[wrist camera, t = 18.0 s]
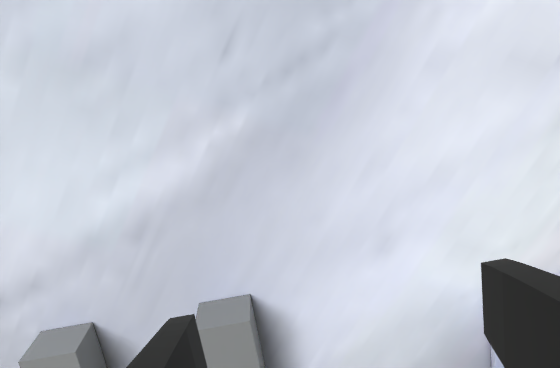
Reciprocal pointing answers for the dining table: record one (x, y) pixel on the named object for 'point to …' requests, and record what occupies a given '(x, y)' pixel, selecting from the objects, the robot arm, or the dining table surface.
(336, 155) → the dining table surface
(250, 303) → the grey bars
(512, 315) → the robot arm
